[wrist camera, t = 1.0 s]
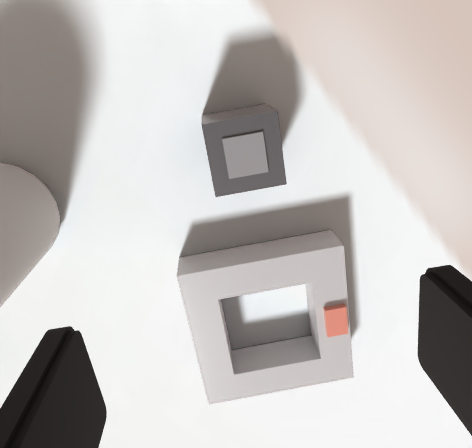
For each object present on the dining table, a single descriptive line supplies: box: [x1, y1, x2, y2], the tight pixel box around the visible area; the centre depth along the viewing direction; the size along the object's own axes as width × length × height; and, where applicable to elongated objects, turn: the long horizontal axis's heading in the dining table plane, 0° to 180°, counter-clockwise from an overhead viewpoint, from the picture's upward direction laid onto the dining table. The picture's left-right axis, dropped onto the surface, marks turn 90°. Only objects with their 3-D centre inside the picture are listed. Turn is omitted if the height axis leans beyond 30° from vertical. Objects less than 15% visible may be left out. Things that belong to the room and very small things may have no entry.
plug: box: [202, 104, 286, 197], centre depth 26 cm, size 4×4×5 cm
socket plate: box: [177, 230, 354, 404], centre depth 32 cm, size 12×12×4 cm
